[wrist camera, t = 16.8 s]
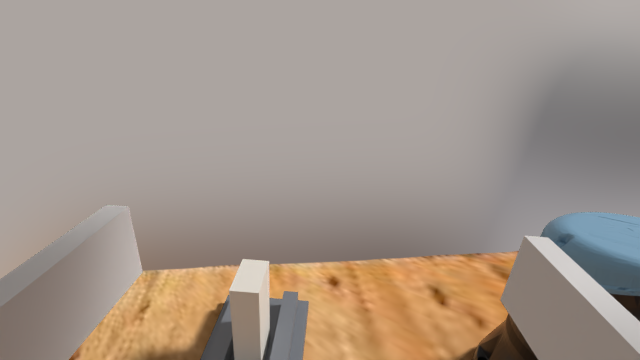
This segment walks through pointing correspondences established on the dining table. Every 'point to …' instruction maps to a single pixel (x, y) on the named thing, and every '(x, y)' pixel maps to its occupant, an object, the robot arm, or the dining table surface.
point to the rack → (284, 331)
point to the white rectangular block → (250, 310)
